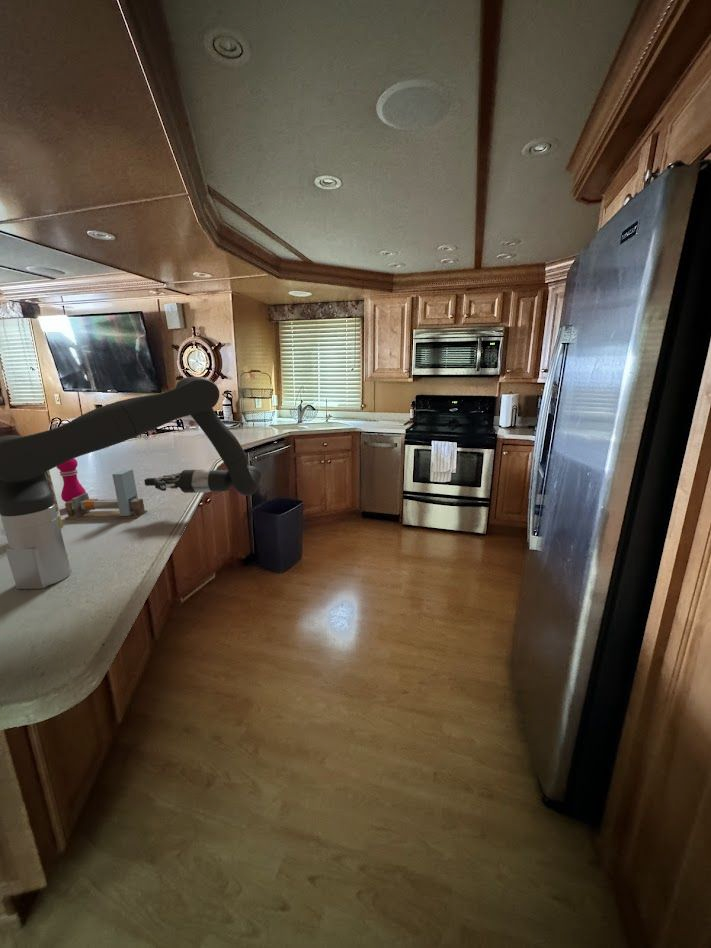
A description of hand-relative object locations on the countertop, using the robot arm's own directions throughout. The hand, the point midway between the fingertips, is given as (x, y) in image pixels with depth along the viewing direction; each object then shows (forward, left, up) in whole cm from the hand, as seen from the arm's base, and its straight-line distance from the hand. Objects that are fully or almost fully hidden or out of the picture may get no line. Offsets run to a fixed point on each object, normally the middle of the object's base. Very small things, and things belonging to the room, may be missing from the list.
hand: (145, 481), depth 122 cm
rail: (0, +15, -11) cm, 19 cm away
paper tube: (-12, +25, -12) cm, 30 cm away
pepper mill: (+9, +32, -12) cm, 35 cm away
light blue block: (0, +7, -12) cm, 13 cm away
